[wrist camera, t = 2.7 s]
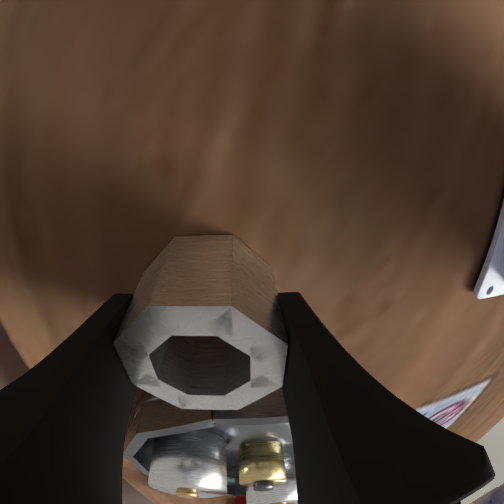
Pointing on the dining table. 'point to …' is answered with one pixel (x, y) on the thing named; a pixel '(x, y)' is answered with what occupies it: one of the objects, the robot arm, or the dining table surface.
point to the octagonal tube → (205, 326)
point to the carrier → (215, 450)
